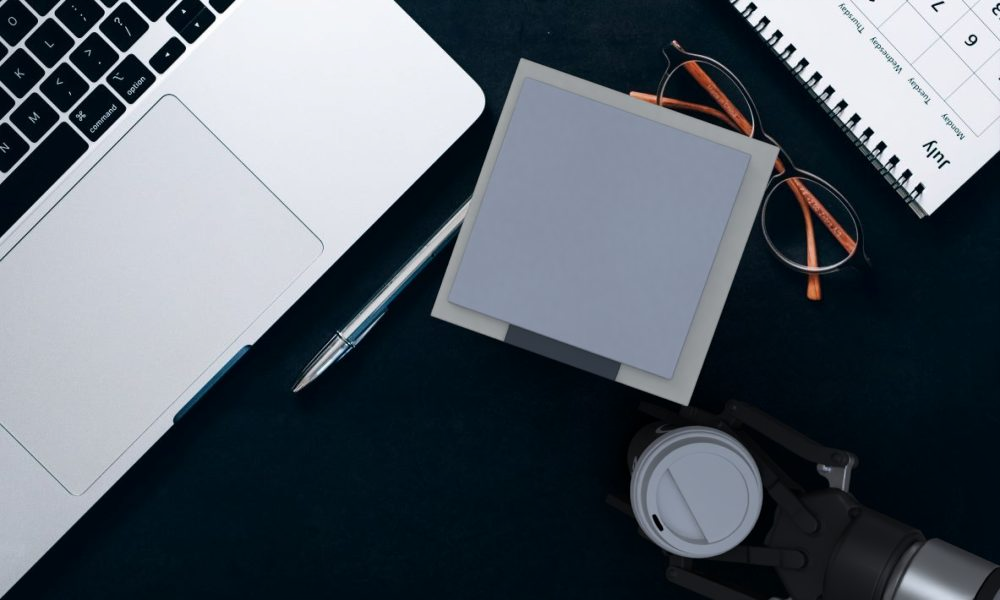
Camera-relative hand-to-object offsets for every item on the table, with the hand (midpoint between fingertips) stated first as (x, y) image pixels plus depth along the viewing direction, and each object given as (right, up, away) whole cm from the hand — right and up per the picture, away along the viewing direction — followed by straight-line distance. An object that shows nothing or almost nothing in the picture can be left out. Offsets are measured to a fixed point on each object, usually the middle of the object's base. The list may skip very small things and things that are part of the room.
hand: (632, 453), depth 68 cm
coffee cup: (+3, -1, +4) cm, 5 cm away
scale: (-6, +16, -25) cm, 30 cm away
